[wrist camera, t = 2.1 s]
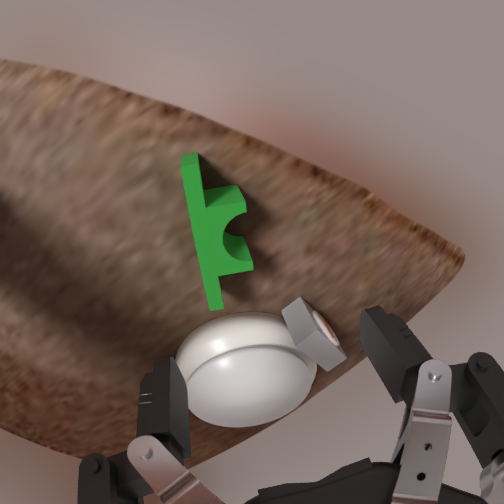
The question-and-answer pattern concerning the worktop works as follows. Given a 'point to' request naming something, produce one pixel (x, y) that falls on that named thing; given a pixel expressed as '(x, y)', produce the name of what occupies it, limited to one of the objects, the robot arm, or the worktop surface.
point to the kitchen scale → (255, 364)
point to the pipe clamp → (214, 229)
